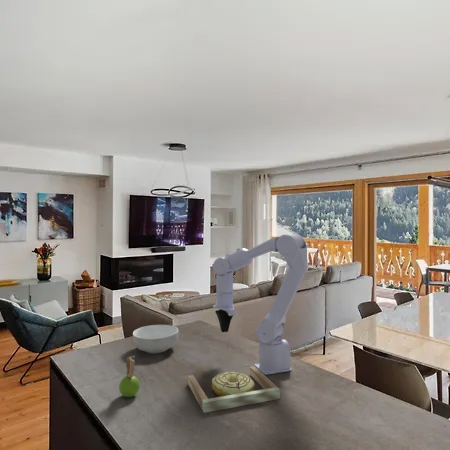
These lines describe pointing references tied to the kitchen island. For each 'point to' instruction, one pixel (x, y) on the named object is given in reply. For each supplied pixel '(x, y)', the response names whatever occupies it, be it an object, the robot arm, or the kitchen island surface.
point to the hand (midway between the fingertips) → (224, 331)
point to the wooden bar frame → (239, 399)
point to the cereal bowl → (155, 338)
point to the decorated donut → (232, 383)
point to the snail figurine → (129, 380)
